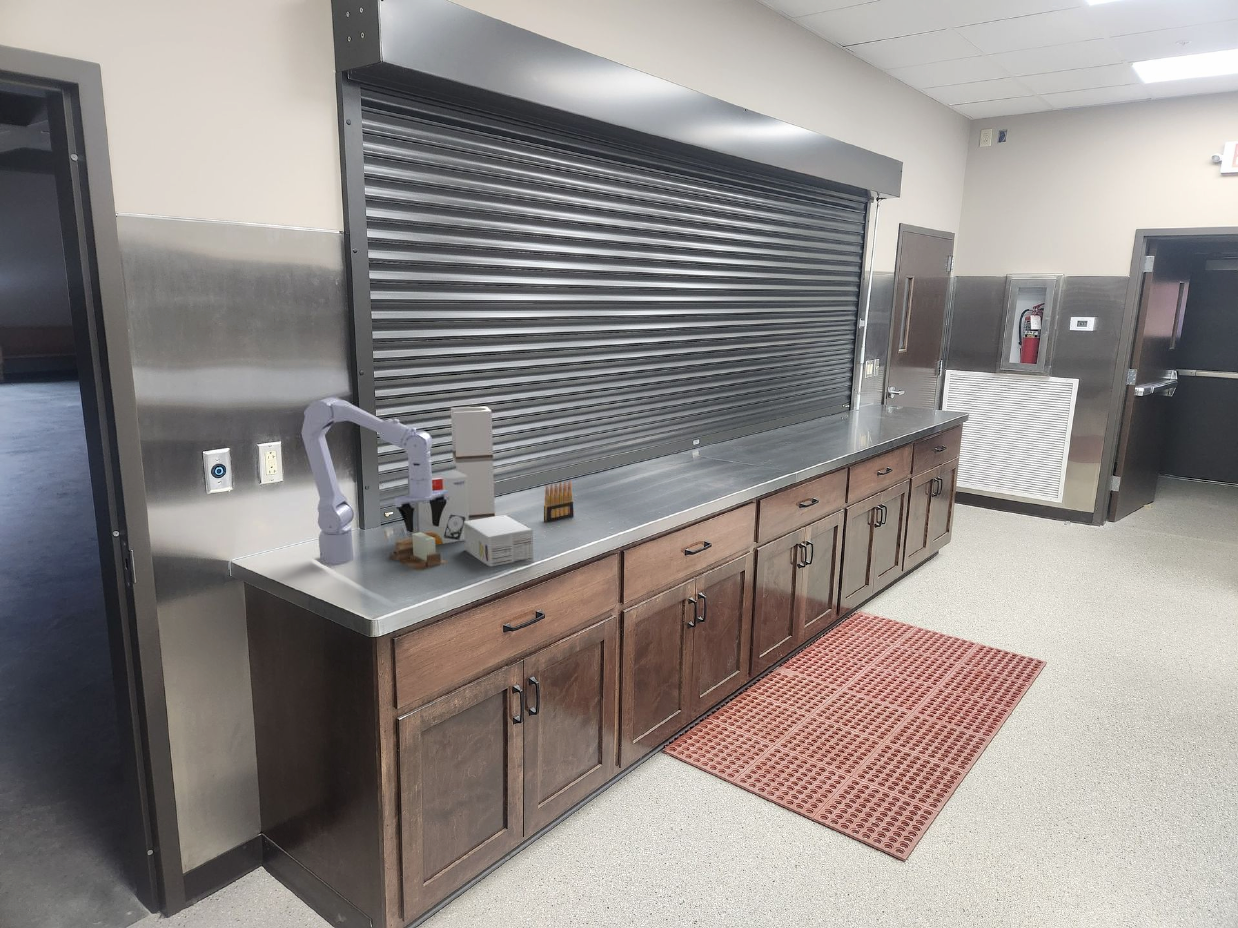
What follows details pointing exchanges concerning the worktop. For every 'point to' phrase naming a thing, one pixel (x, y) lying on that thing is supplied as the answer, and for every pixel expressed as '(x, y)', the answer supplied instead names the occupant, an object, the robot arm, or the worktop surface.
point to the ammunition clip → (558, 503)
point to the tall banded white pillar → (475, 457)
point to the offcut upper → (404, 543)
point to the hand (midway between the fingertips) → (423, 528)
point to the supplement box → (498, 540)
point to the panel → (423, 545)
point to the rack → (416, 559)
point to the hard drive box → (452, 512)
